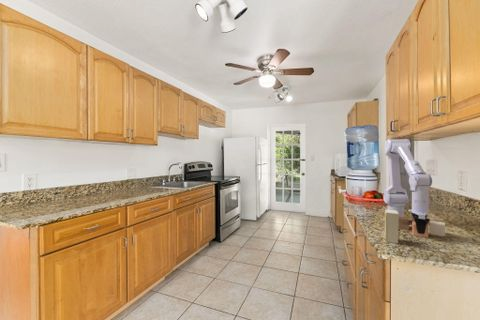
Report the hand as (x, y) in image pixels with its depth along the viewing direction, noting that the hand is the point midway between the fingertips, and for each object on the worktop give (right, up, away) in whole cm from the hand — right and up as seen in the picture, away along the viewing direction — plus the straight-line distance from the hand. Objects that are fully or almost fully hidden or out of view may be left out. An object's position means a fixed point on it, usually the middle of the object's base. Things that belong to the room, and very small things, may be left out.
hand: (420, 231), depth 95 cm
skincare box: (-17, -2, -6) cm, 18 cm away
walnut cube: (-1, -2, +10) cm, 10 cm away
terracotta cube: (0, -1, 0) cm, 1 cm away
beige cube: (+9, -2, +1) cm, 9 cm away
